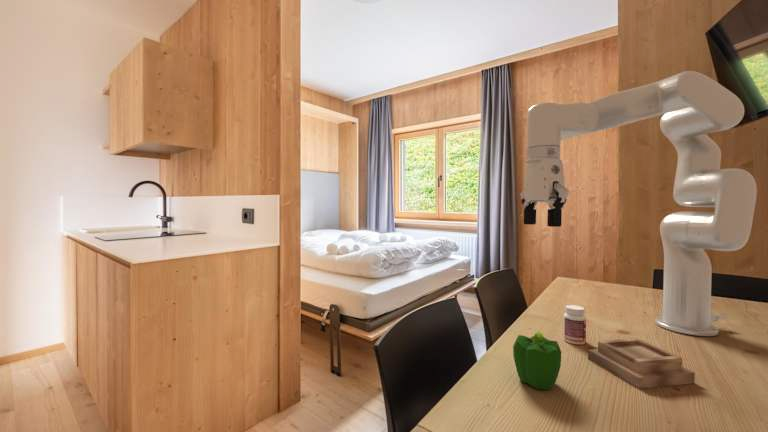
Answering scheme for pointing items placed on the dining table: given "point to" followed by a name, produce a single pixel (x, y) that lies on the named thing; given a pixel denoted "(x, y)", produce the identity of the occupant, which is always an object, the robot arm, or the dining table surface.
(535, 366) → the bell pepper
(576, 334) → the pill bottle
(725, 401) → the dining table surface
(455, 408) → the dining table surface
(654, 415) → the dining table surface
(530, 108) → the robot arm
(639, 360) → the plinth
